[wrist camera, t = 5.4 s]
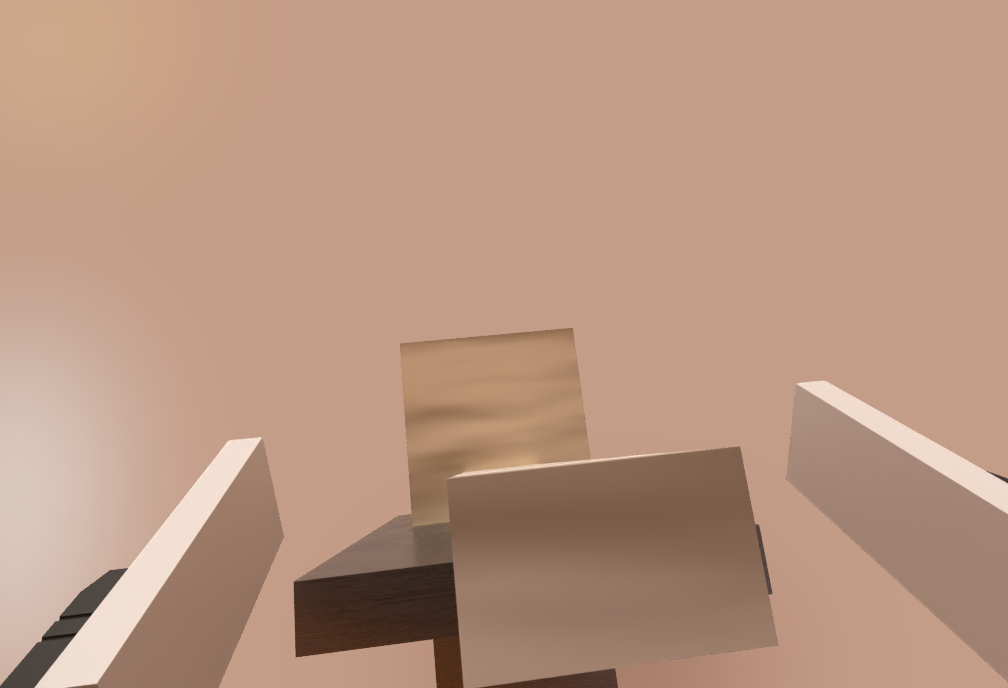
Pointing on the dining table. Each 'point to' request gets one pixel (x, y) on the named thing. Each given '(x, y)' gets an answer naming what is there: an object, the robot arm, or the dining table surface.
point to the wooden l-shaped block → (572, 520)
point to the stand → (402, 602)
